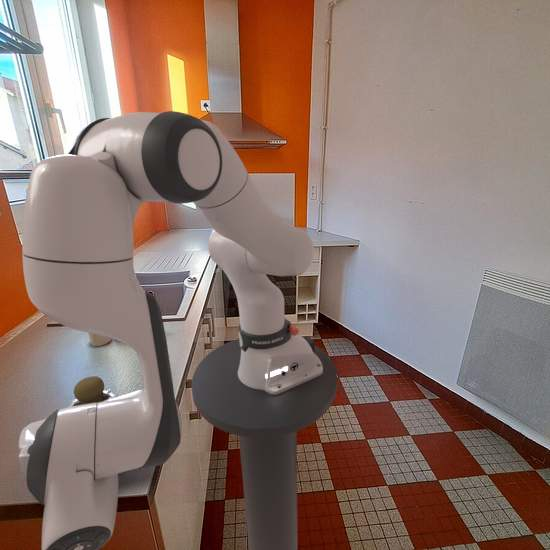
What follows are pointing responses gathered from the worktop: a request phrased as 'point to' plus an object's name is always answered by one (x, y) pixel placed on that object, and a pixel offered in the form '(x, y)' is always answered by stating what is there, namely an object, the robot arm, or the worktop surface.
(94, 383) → the cork
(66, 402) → the worktop surface
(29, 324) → the worktop surface
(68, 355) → the worktop surface
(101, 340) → the candle
